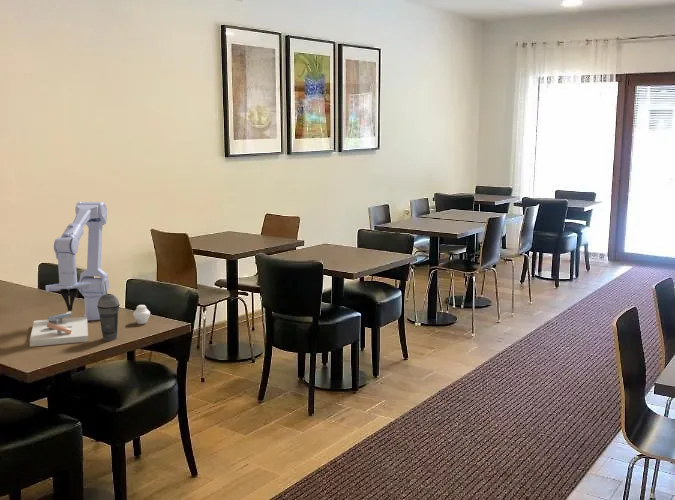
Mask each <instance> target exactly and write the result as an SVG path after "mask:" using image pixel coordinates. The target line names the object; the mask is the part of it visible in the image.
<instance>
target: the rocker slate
mask: <svg viewBox="0 0 675 500" xmlns="http://www.w3.org/2000/svg"><path fill="white" fill-rule="evenodd" d="M72 316H73V310H72V311H67V312H63V313H58V314H54V315H49V316H48V317H47V320H48V321H49V319H53V318H57V319H61V318H62V319H63V318H70V317H72Z"/></svg>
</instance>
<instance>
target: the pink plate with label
mask: <svg viewBox="0 0 675 500" xmlns="http://www.w3.org/2000/svg"><path fill="white" fill-rule="evenodd" d="M46 327H48V328H52V329H55V330H59V331H63V332H66V333H70V334H71V331H72V329H71V328H68V327H64V326H60V325H57V324H53V323H50V322H48V323H47V326H46Z"/></svg>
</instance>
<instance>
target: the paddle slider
mask: <svg viewBox="0 0 675 500" xmlns="http://www.w3.org/2000/svg"><path fill="white" fill-rule="evenodd" d="M49 322H50V323H53V324H57V318H53V319H49ZM49 329H52V328H49Z"/></svg>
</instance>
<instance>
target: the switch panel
mask: <svg viewBox="0 0 675 500" xmlns="http://www.w3.org/2000/svg"><path fill="white" fill-rule="evenodd" d="M48 322H49V321H48V319H40V320H39V319H38V320H33V325H32V329H31V332H30V333H31V334H30V337H29V347H30V348H31V347H41V346H52V345H63V344H73V343H76V344H77V343H85V342H89V329H88V328H89V327H88V326H89V325H88V321H87V317H84V316H78V317H77V316H76V317H65V318H61V319H57V325H60V326H64V327H68V328H71V329H72V331H71V334H70V333H66V332H63V331H59V330H55V329H49V328H48V327H46V326H47V323H48Z"/></svg>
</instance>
